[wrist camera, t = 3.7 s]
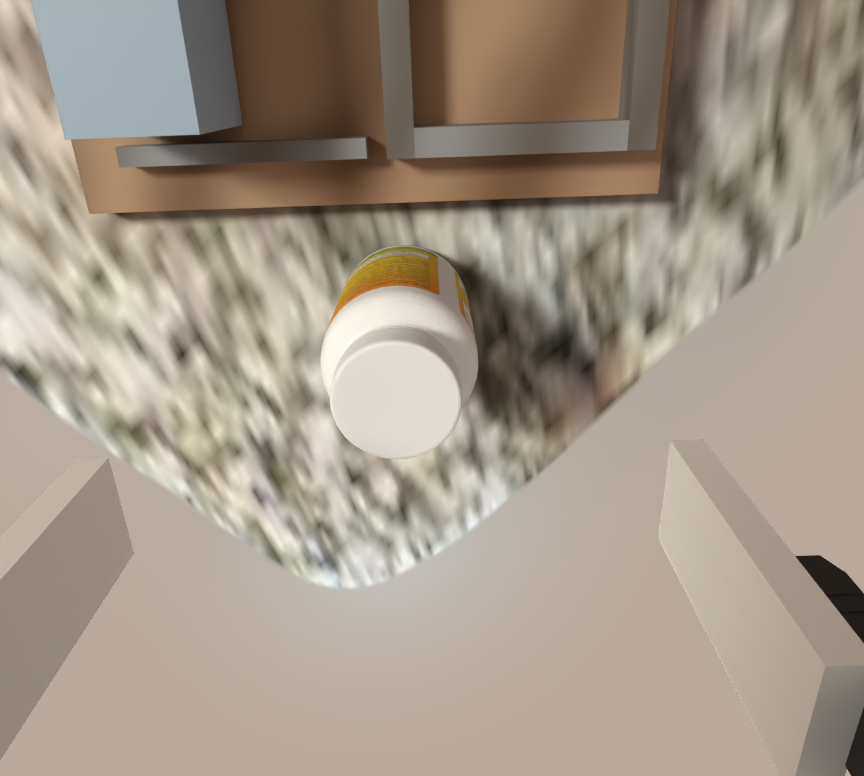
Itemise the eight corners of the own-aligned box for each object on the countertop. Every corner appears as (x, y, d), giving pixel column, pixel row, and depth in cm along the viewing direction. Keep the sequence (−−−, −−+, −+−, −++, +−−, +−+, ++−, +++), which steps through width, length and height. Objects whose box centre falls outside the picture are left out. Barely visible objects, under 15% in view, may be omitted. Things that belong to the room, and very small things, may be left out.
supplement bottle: (317, 311, 29) (268, 412, 20) (397, 215, 27) (382, 279, 18) (412, 385, 30) (406, 510, 21) (493, 299, 29) (523, 395, 20)
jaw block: (133, 128, 24) (64, 139, 20) (84, -105, 21) (-9, -156, 17) (242, 125, 24) (199, 134, 20) (209, -110, 21) (150, -163, 17)
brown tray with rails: (102, 208, 27) (70, 221, 24) (6, -203, 21) (-48, -240, 19) (648, 189, 27) (671, 199, 24) (689, -231, 21) (723, -272, 19)
